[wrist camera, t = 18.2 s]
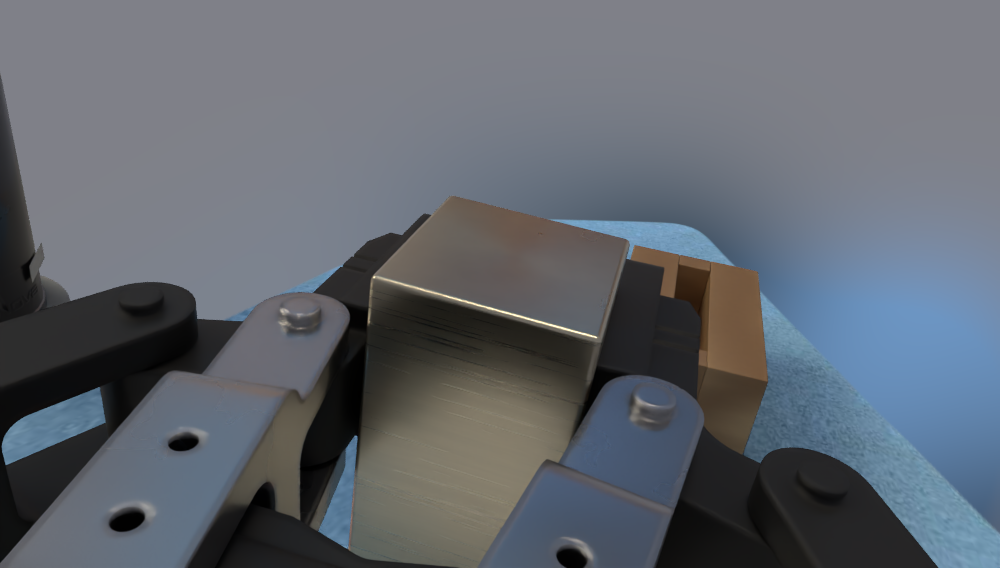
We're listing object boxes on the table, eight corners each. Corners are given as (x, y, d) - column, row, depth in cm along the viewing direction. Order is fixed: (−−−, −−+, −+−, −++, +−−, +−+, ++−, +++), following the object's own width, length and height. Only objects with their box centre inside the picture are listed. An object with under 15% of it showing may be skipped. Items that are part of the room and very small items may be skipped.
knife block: (587, 434, 41) (607, 342, 38) (617, 322, 52) (634, 244, 49) (736, 473, 39) (768, 381, 37) (733, 349, 51) (758, 271, 48)
